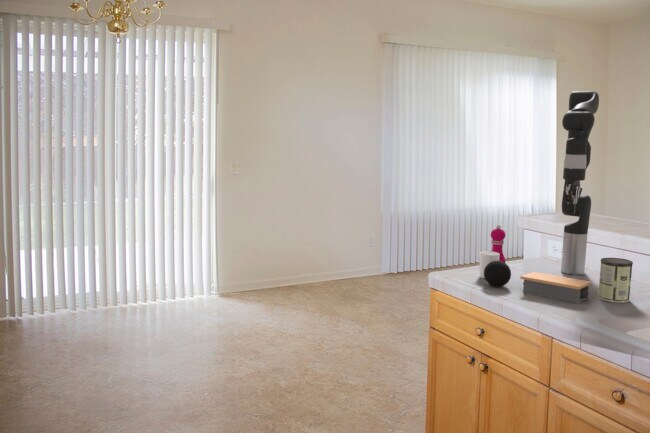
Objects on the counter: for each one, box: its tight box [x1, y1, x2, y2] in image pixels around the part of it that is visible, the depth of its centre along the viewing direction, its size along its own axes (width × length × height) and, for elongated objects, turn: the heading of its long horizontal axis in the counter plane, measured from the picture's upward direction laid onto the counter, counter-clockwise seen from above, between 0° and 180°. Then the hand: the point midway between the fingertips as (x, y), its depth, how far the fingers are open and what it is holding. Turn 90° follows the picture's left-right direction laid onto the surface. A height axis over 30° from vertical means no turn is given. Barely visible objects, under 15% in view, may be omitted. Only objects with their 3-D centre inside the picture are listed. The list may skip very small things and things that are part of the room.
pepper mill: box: [490, 224, 507, 263], centre depth 250 cm, size 7×7×20 cm
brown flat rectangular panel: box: [520, 271, 592, 290], centre depth 215 cm, size 12×21×1 cm, turn 48°
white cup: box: [478, 250, 500, 279], centre depth 241 cm, size 8×8×10 cm
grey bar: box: [522, 281, 589, 299], centre depth 217 cm, size 2×23×2 cm, turn 48°
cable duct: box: [522, 279, 590, 304], centre depth 216 cm, size 10×20×5 cm, turn 48°
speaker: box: [483, 261, 512, 288], centre depth 227 cm, size 10×10×10 cm
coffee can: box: [597, 257, 634, 304], centre depth 212 cm, size 10×10×14 cm
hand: (571, 213), depth 220 cm, fingers closed
